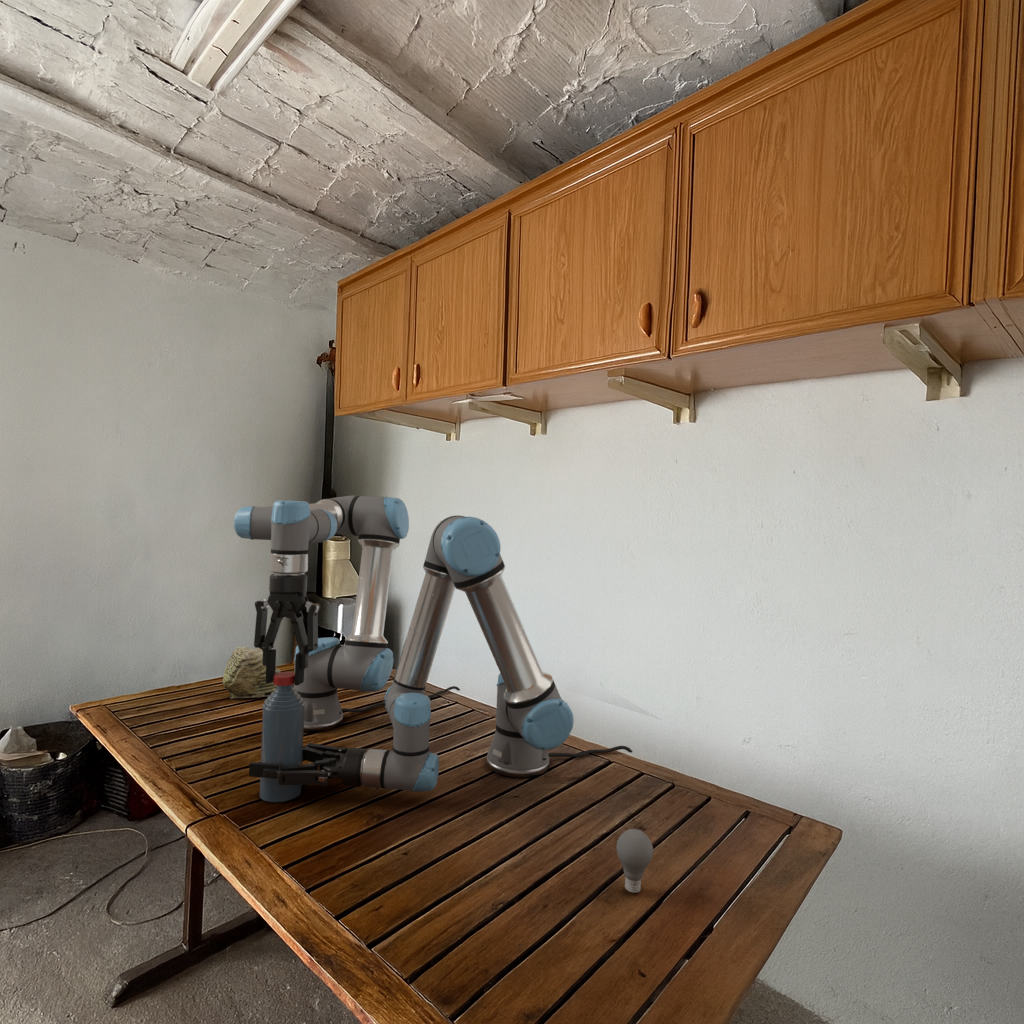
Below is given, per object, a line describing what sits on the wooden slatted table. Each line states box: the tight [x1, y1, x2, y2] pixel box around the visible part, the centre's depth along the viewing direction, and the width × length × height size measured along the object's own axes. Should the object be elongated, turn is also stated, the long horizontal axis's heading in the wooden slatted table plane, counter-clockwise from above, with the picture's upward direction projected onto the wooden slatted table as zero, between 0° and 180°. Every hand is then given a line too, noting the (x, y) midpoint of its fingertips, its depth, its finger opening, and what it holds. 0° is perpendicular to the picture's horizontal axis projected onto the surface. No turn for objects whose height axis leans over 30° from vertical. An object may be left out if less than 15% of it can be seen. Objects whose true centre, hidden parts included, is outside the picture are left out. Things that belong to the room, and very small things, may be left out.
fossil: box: [222, 646, 281, 699], centre depth 198 cm, size 9×18×15 cm, turn 132°
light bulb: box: [615, 828, 654, 894], centre depth 106 cm, size 6×6×10 cm
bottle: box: [259, 684, 305, 803], centre depth 134 cm, size 8×8×25 cm
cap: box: [273, 671, 295, 686], centre depth 134 cm, size 4×4×2 cm
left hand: (284, 682), depth 134 cm, fingers open, 6 cm apart
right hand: (260, 760), depth 135 cm, fingers closed on bottle, 8 cm apart
